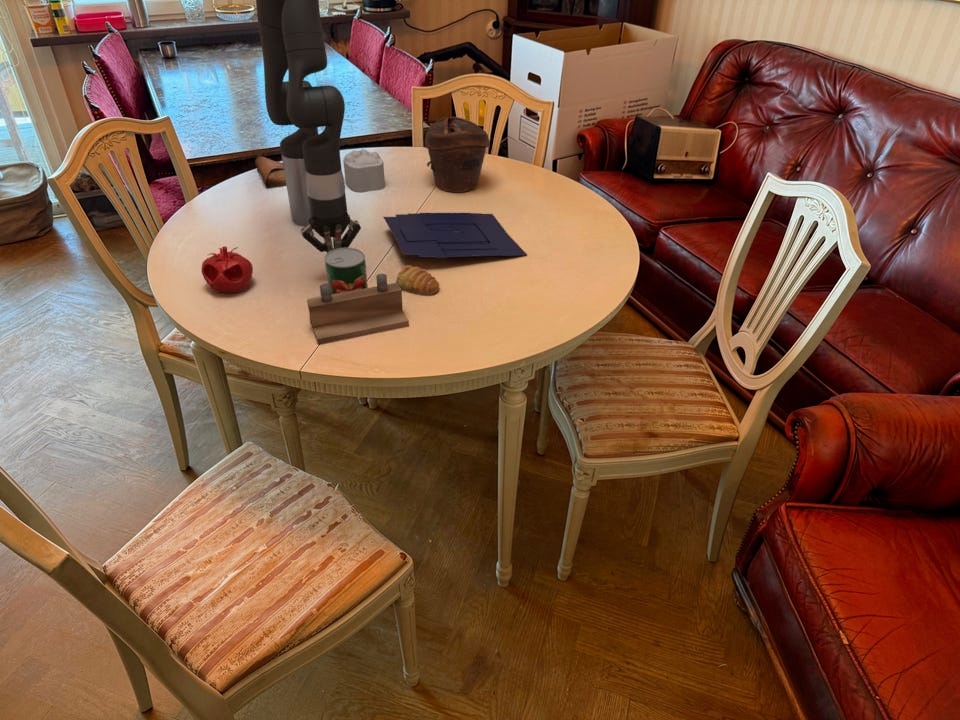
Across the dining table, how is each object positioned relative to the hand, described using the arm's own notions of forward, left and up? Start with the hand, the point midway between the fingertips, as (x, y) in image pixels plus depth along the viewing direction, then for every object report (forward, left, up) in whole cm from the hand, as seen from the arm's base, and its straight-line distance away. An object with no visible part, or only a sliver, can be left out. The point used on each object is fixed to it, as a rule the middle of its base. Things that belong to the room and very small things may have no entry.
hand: (335, 265), depth 137 cm
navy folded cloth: (-6, +30, -3) cm, 31 cm away
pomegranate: (-3, -22, -3) cm, 22 cm away
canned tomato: (+13, 0, -3) cm, 13 cm away
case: (-40, +44, -3) cm, 60 cm away
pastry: (+10, +15, -3) cm, 19 cm away
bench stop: (+21, 0, -2) cm, 21 cm away
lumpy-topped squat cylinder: (-49, +19, -3) cm, 53 cm away
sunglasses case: (-62, -4, -3) cm, 62 cm away
